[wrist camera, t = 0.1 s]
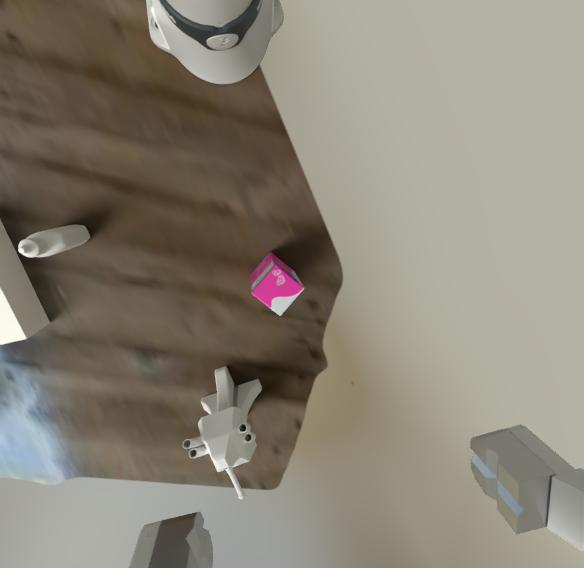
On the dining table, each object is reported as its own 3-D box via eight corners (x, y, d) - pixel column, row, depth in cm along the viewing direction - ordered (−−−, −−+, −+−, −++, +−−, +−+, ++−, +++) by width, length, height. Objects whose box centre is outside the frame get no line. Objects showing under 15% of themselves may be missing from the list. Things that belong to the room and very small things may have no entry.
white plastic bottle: (90, 253, 52) (45, 271, 40) (52, 245, 51) (-5, 262, 39) (92, 226, 51) (46, 238, 39) (53, 218, 49) (-5, 228, 38)
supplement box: (295, 269, 57) (306, 289, 46) (273, 293, 58) (279, 318, 47) (270, 249, 55) (276, 264, 45) (249, 274, 56) (249, 295, 45)
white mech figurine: (216, 430, 65) (204, 517, 48) (190, 377, 61) (168, 452, 44) (271, 411, 65) (279, 490, 48) (250, 357, 61) (250, 423, 44)
